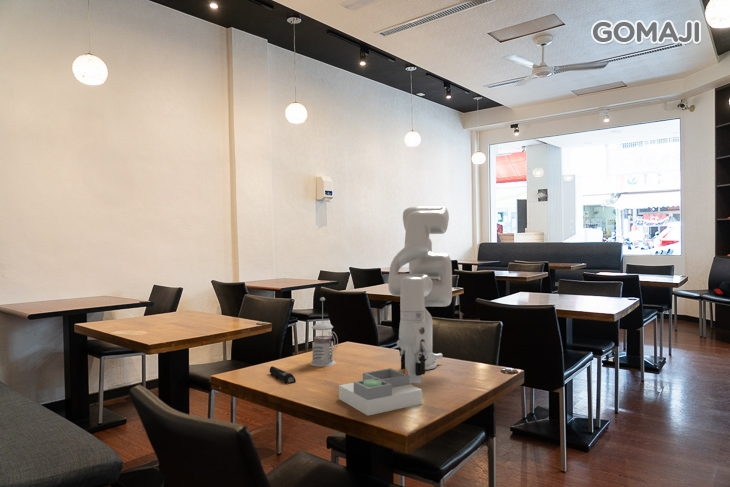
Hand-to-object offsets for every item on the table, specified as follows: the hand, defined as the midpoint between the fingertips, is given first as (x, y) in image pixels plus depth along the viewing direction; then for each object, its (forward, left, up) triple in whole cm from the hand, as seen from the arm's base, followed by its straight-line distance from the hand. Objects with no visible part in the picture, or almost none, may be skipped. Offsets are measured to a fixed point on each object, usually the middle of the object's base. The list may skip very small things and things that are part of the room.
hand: (412, 371), depth 153 cm
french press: (+11, -41, -5) cm, 43 cm away
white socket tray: (+17, +7, -5) cm, 18 cm away
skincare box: (0, 0, -3) cm, 3 cm away
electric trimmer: (+32, -31, -5) cm, 45 cm away
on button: (+22, +11, 0) cm, 24 cm away
